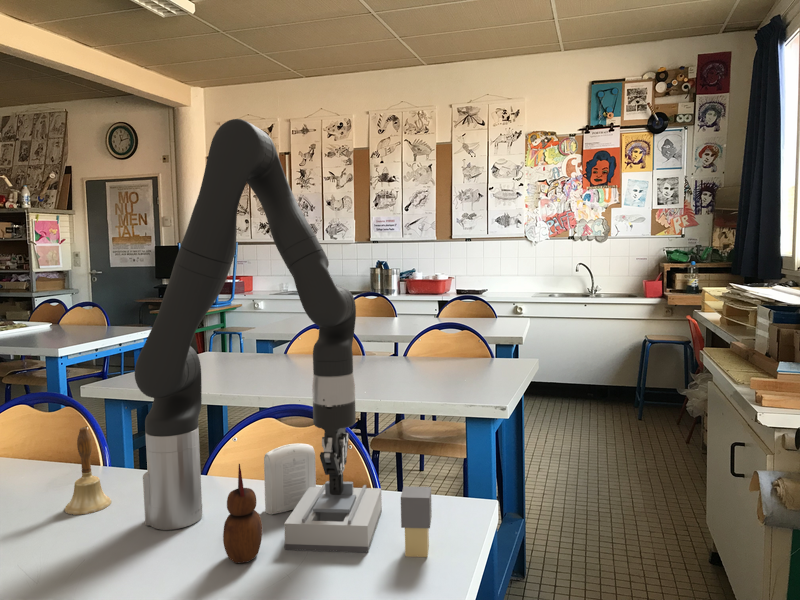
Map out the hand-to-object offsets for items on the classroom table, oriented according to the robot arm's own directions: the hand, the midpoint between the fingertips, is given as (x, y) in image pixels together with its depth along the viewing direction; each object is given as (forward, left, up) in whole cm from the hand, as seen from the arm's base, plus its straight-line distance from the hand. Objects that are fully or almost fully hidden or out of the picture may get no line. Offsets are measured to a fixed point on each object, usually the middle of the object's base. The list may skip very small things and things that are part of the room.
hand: (336, 493), depth 108 cm
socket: (0, -1, -6) cm, 6 cm away
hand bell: (-52, +6, -6) cm, 53 cm away
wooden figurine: (-13, -12, -6) cm, 19 cm away
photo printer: (-11, +8, -6) cm, 15 cm away
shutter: (0, -1, -1) cm, 2 cm away
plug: (+15, -8, -6) cm, 18 cm away
